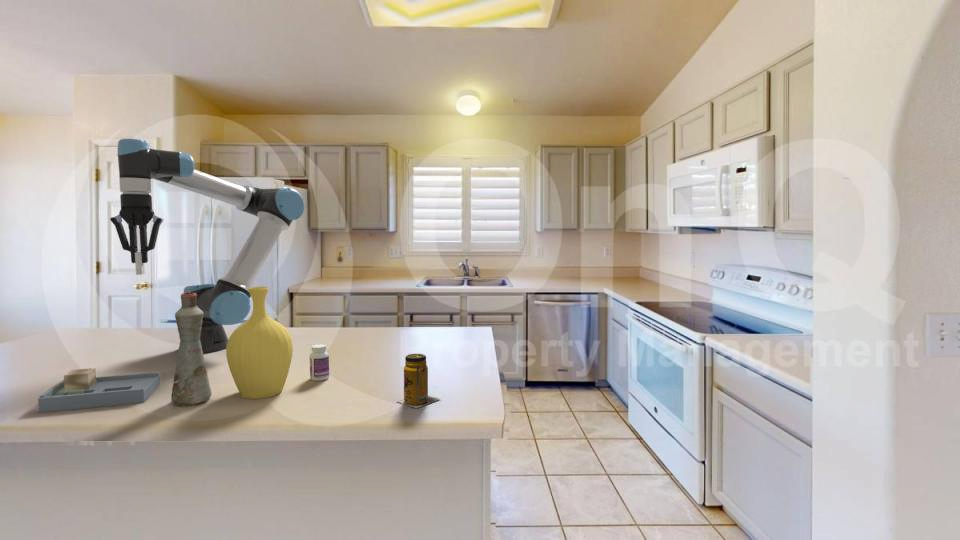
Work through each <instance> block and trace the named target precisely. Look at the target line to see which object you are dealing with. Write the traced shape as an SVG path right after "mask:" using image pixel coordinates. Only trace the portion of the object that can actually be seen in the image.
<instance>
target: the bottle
mask: <svg viewBox="0 0 960 540" xmlns="http://www.w3.org/2000/svg"><path fill="white" fill-rule="evenodd" d="M180 302H181V306H180V308H179V309H178V310H177V311H176V312H175V313H174V318H175V321H176V326H177V332H178V337H179V340H180V341H179V346H178V351H177V358H176V363H175V370H174V376H173V383H172V388H171V389H172V390H171V397H170V401H171V402H172V404H174V405H175V406H177V407H187V406H192V405H196V404H199V403H204V402H207V401H208V400H210V398H211V397H212V389H211V385H210V384H211V383H210V381H209V377H208V375H209V374H208V371H207V370H208V369H207V366H206V361H205V357H204V353H203V351H202V346H201V342H200V335H201V328H202V327H201V326H202V319H203V314H204V313H203V311H202V310H200V309H199V308H198V307H197V306H196V302H197V294H196V293H190V291H188V292H187V293H184V292H183V293H181V294H180Z"/></svg>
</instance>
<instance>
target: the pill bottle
mask: <svg viewBox="0 0 960 540" xmlns="http://www.w3.org/2000/svg"><path fill="white" fill-rule="evenodd" d="M309 375H310V376H309V379H310V380H312V381H315V382H316V381H317V382H318V381H319V382H320V381H324V380H328V379H329V378H330V355H329V353H328V352H327V345H326V344H313V345H311V353H309Z"/></svg>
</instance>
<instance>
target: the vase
mask: <svg viewBox="0 0 960 540" xmlns="http://www.w3.org/2000/svg"><path fill="white" fill-rule="evenodd" d="M269 289H270V288H269V287H267V286H253V287H252V286H251V287H250V288H249V289H248V290H249V292H250V295H251V297H250V298H252V299H251V301H252V312H251V313H252V314H251V316H250V317H249V318H248V319H246V320H245V321H243V322H242V323H241V324H240V325H238V326H237V327H236V328H235V329H234V330H233V331H232V333H231V335H230V336H229V338H228V343H227V348H225V349H226V350H225V351H226V353H225V354H226V361H227V364H228V368H229V371H230V374H231V377H232V380H233V381H234V384H235V386H236V388H237V390H238V392H239V395H240V397H242V398H244V399H253V400H254V399H255V400H256V399H264V398H266V399H267V398H270V397H273V396H276V395H278V394H281V393H282V392H283V389H284V387H285V383H286V382H287V377H288V374H289V371H290V368H291V363H292V359H293V352H294V343H293V339H292V336H291V333H290V332H289V330H288V329H287V328H286V326H284V325H283V324H281V323H280V322H278V321H277V320H275V319H273V318H272V317H271V316H269V315H268V313H267V310H266V309H267V308H266V296H267V294H268V291H269Z"/></svg>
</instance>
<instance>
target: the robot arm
mask: <svg viewBox="0 0 960 540" xmlns="http://www.w3.org/2000/svg"><path fill="white" fill-rule="evenodd" d="M116 155H117V162H118V172H119V174H118V175H119V179H118V180H119V181H118V182H119V192H121V194H120V195H119V197H120V210H119V211H118V213H119V214H117V215H116V216H113V217H110V219H109V220H110V222H111V223H112V224H113V225H114V227H115V230H116V233H117V236H118V238H119V241H120V244H121V247H122V249H123V250H124V251H128V252H130V261H131V264H135V275H136V276H141V275H145V274H146V273H145V264H147V263H148V261H149V257H148V255H149V254H148V252H150V251H152V250H153V251H154V249H155V248H156V243H157V240H158V235H159V230H160V228H161V227H160V226H161V225H162V223H163V222H164V218H163V217H159V216H157V214H155V212H154V210H153V200H152V199H153V198H152V197H153V196H152V195H151V193H152V179H153V180H156V181H159V182H163V183H165V184H169V185H172V186H175V187H178V188H181V189H183V190H187V191H190V192H193V193H195V194H199V195H203V196H205V197H208V198H211V199H214V200H217V201H220V202H222V203H226V204H229V205H232V206H235V207H236V209H237V210H239V211H241V212H244V213H247V214H250V215H253V216H255V217H257V218H258V221H257V222H256V223H255V226H254V228H253V229H252V230H251V233H250V234H249V236H248V238H247V239H246V241H245V243H244V244H243V246H242V247H241V250H240V252H239V253H238V255H237V256H236V258H235V260H234V262H233V263H232V265H231V266H230V269H229V270H228V272H227V274H225V276H224V277H221V278H218V279H217V281H216V282H215V283H206V284H205V283H203V284H193V285H187V286H185V287H184V288H183V293H187V292H188V291H190V293H196V294H197V302H196V306H197V307H198V308H199V309H200V310H202V311H203V313H204V314H203V319H202V326H201V327H202V328H201V335H200V342H201V346H202V351H203V354H204V353H213V352H217V351H221V350H224V349H226V348H227V343H228V340H229V338H228V336H227V333H226V331H225V328H224V326H232V325H236V324H239V323H241V322H243V321H244V320H245V319H246V318H247V316H249V314H250V311H251V300H250V298H252V297H251V295H250V292H249V290H248V289H249V288H251V287H252V285H253V284H254V281H255V280H256V278H257V277H258V274H259V272H260V271H261V269H262V267H263V265H264V264H265V262H266V260H267V258H268V256H269V254H270V253H271V251H272V249H273V247H274V245H275V243H276V242H277V241H278V238H279V236H280V235H281V233H282V231H287V230H288V229H289V228H290V226H291V224H292V223H293V221H296V220H298V219H300V218H302V215H304V212H305V207H306V206H305V202H304V198H303V196H302V194H300V192H299V191H297V190H296V189H294V188H292V187H285V186H284V187H281V188H279V187H278V188H276V187H275V188H258V187H252V186H250V185H239V184H237V183H234V182H231V181H228V180H226V179H223V178H220V177H218V176H214V175H212V174H209V173H206V172H203V171H200V170H197V169H196V168H195V160H194V158H193V156H192V155H191V154H190V153H187V152H181V151H172V150H171V151H170V150H165V149H164V150H163V149H154V148H151V147H150V143H149V142H148V141H147V140H144V139H140V138H139V139H138V138H122V139H120V140H118V142H117V154H116ZM123 220H124V222H125V223H126V224H127V227H128V231H129V232H128V234H129V239H128V236H127V234H126V231H125V229H124V225H123V223H122V222H123ZM151 221H152V227H151V231H150V235H149V240H148V231H147V230H148V224H149V223H150V222H151ZM137 228H138V229H139V230H138V231H139V243H140V244H139V245H140V250H139V249H138V235H137V232H138V231H137Z"/></svg>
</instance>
